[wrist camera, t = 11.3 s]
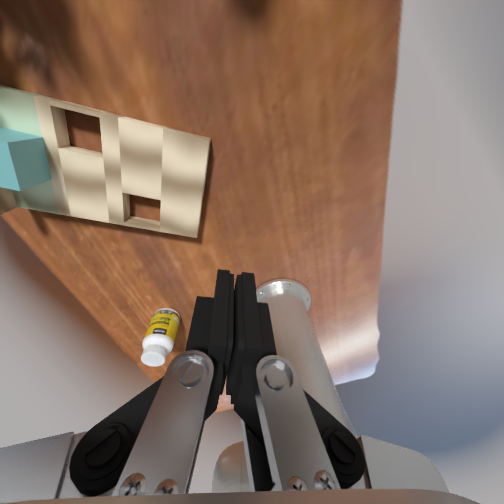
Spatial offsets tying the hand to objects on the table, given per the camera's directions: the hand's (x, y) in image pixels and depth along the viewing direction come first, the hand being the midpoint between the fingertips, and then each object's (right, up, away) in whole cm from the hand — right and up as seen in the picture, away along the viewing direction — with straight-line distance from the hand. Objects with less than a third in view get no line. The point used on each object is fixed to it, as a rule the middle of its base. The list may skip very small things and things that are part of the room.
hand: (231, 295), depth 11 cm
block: (-27, +14, +17) cm, 34 cm away
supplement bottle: (-17, -11, +36) cm, 42 cm away
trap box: (-18, +13, +21) cm, 31 cm away
